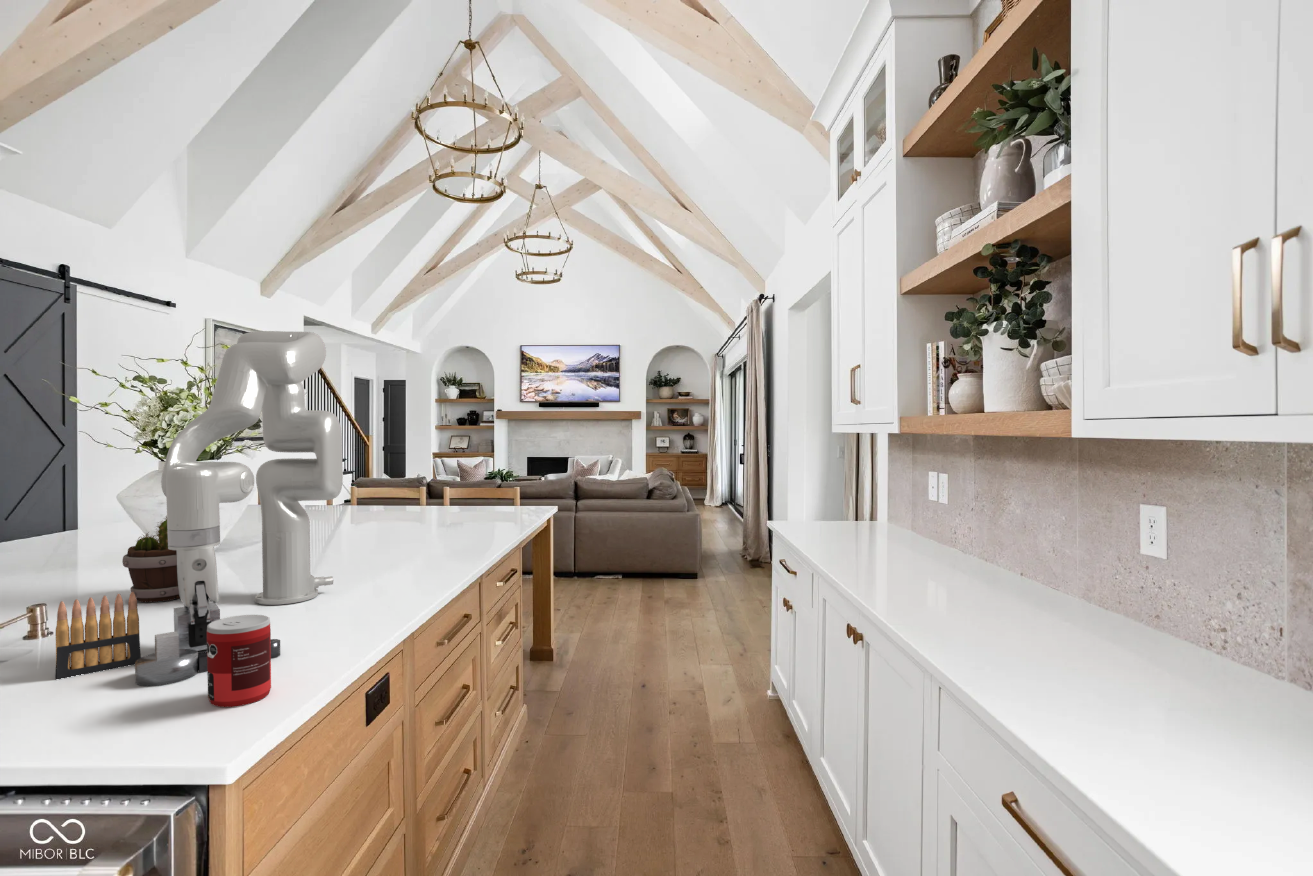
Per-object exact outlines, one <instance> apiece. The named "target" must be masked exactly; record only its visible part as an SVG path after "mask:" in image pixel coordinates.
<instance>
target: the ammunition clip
mask: <svg viewBox="0 0 1313 876" xmlns="http://www.w3.org/2000/svg"><path fill="white" fill-rule="evenodd" d="M127 607H128V608H127V616H126V617H125V609H124V601H123V597H122V595H121V594H120V593H117V595H116V597H115V601H114V611H113V620H112V618H111V610H110V608H111V607H110V602H109V600H108V597H107V595H103V597H102V598H101V602H100V610H99V611H100V612H99V613H100V614H99V620H98V621H99V622H98V621H97V614H96V612H97V610H96V604H95V601H94V599H93V598H92V597H89V599H88V601H87V604H86V608H85V609H86V610H85V614H86V615H85V623H83V615H82V613H83V612H82V606H81V604H80V601H79V600H78V599H77V598H76V599H74V602H73V605H72V608H71V609H72V610H71V620H70V621H71V624H70V626H69V622H68V621H69V620H68V611H67V607H66V604H65V602H64V600H61V601H60V602H59V604H58V607H57V613H56V627H55V669H54V670H55V672H54V679H55V680H56V679H59V680H62V679H61V678H64V679H68V678H67V677H69V678H72V677H71V676H74V677H77V676H76V675H79V676H82V675H81V674H84V675H90V674H94V673H93V672H95V673H100V672H104V671H103V670H105V671H109V669H110V670H115V669H119V668H118V667H121V668H125V667H124V666H126V667H129V666H128V665H131V666H135V665H134V664H135V662H136V660H138V659H140V658H142V653H141V642H140V641H141V640H140V616H139V612H138V611H139V610H138V601H137V599H136V596H135V594H134V592H131V591H130V594H129V598H128V604H127ZM99 671H100V672H99ZM89 673H90V674H89Z"/></svg>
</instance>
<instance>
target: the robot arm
mask: <svg viewBox="0 0 1313 876" xmlns="http://www.w3.org/2000/svg"><path fill="white" fill-rule="evenodd" d="M326 348H327V347H326V344H325V342H324V340H323V338H322V337H321V336H320V335H319V334H317V333H315V332H311V331H284V330H283V331H281V330H268V331H267V330H260V331H256V330H255V331H250V332H245V333H243V334H242V335H240V336H238V338H237V342H236V343H235V344H233V345H231V346H229V347H228V348H227V349H226V350H225V351H224V354H223V356H222V357H223V358H222V360H221V365H220V367H219V371H218V375H217V379H216V382H215V386H214V390H213V393H212V397H211V400H210V403H209V406H208V408H207V409H206V410H205V411H204V412H202V413H200V414H199V415H198V416H197V417H195V418H194V419H192V421H190V422H189V423H188V424H187V425H186V426H185V427H184V428H183V429H182V430H181V431H180V432H179V433H178V434H177V435H176V437H174V439H173V440H172V443H171V444H170V446H169V449H168V452H167V455H166V458H165V462H164V465H163V468H162V474H161V481H160V483H161V484H160V485H161V491H162V494H163V495H164V496H165V497H166V499H165V500H166V515H167V518H166V519H167V529H168V530H167V531H168V549H170V550H177V577H178V588H179V596H180V598H179V599H180V601H181V602H182V603H183V607H185V606H186V607H189V611H190V623H191V624H188V628H189V646H190V647H191V648H192V647H198V646H203V645H207V625H208V624H210V623H211V620H210V609H209V603H210V602H213V603H214V604H217V603H218V602H220V601H219V600H220V596H219V595H220V594H219V583H218V581H219V580H218V569H217V556H216V551H215V547H217V546H219V545H221V527H220V526H221V525H220V524H221V522H220V519H221V518H220V504H222V503H223V504H224V503H225V504H226V503H227V504H228V503H237V502H241V501H243V500H245V499H246V498H247V497H248V496H249V495H250V494H251V492H252V491H253V490H254V486H255V483H256V488H257V492H258V498H259V503H260V504H259V505H260V511H261V552H262V553H261V554H262V592H260V593H258V594H256V595H255V596H254V602H255V603H257V604H259V605H264V606H265V605H267V606H269V605H270V606H273V605H274V606H277V605H287V604H288V605H289V604H295V603H302V602H305V601H309V600H312V599H315V598H316V597H317V596H319V590H318V589H319V587H321V586H324V587H325V586H331V585H334V576H316V577H315V576H314V575H312V574H311V532H310V531H311V529H310V528H311V524H310V523H311V522H310V518H309V517H310V516H309V515H308V513H307V511H306V510H305V508H304V507H303V505H302V504H301V503H300V502H302V501H303V502H308V501H312V502H313V501H331V500H334V499H335V498H338V496H339V495H340V493H341V491H342V488H343V483H344V481H343V478H344V475H343V474H344V471H343V469H344V467H343V436H342V435H343V433H342V427H341V423H340V421H339V419H338V416H337V415H336V414H335V413H333V412H331V411H328V410H323V409H322V410H319V409H318V410H310V409H309V410H307V409H306V401H305V400H306V399H305V397H306V396H305V393H306V392H305V388H304V385H303V384H302V382H304V381H305V380H306V379H308V378H309V377H311V376H312V375H314V374H315V373H317V372H318V371H319V370H320V369H321V368H322V367H323V365H324V363H325V361H326V356H327V350H326ZM260 417H262V418H261V419H262V422H261V423H262V438H263V442H264V445H265V447H266V448H267V450H269V451H272V452H274V453H275V452H276V453H292V454H294V453H313V454H315V457H316V458H302V457H301V458H295V457H294V458H293V457H292V458H276V459H271V460H267V461H265V462H264V463H262V464H261V465H260V466H259V467H258V468H257V471H256V474H255V476H254V472H253V471H252V470H251V469H250V467H249V466H247V465H246V464H244V463H241V462H236V461H197V459H199V457H200V455H201V454H202V452H203V451H205V449H207V447H209V446H210V445H212V444H213V443H215V442H218V441H219V440H221V439H223V438H225V437H228V436H231V435H233V434H235V433H238V432H241V431H243V430H245V429H247V428H249V427H252V426H253V425H255V424H256V423H257V422H258V421H259V420H260ZM209 600H210V601H209ZM192 604H196V605H192ZM194 609H197V610H195V612H194Z"/></svg>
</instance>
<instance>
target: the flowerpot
mask: <svg viewBox="0 0 1313 876" xmlns="http://www.w3.org/2000/svg"><path fill="white" fill-rule="evenodd" d="M163 519H164V520H163ZM163 519H162V520H160V521H159V522H158V521H157V522H156V523H157V525H156V527H157V528H156V527H155V535H150V534H149V533H150V531H148V533H147V532H146V533H145V535H144V534H142V533H141V536H139V537H138V538H137V539H136V544H135V545H133V546H129V547H128V549H127V553H125V554H124V555H123V556H122V565H123V567H124V568H127V569H128V574H129V577H130V580H131V583H132V586H131V587H130V593H131V592H134V594H135V596H136V600H137V602H140V603H149V602H150V603H159V602H158V601H162V602H167V601H173V600H175V599H176V600H177V599H180V596H179V588H178V577H177V550H170V549H168V531H167V530H168V529H167V514H166V516H165V517H164V518H163ZM149 535H150V536H149Z"/></svg>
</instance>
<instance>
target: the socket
mask: <svg viewBox="0 0 1313 876" xmlns="http://www.w3.org/2000/svg"><path fill="white" fill-rule="evenodd" d="M192 605H196V604H192ZM209 609H210V620H211V623H212V622H214V621H216V620H219V619H221V609H220V607H219V606H218V605H217V603H215V604H214V603H213V602H211V601H209ZM195 610H197V609H194V612H195ZM188 624H191V623H190V611H189V607H186V606H185V607H184V606H179V607H173V632H175V631H177V633H178V635H179V649H192V650H196V651H197V652H198V651H202V650H203V651H204V650H207V645H203V646H198V647H192V648H191V647H190V646H189V628H188Z"/></svg>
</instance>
